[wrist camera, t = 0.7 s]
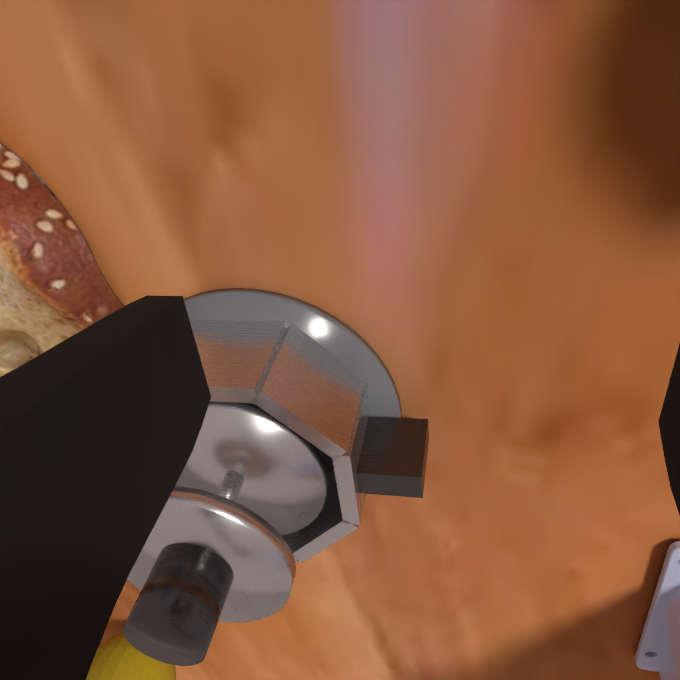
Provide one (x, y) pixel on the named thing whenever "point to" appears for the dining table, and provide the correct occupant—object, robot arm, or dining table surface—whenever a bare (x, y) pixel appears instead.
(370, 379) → the round metal disc
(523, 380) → the dining table surface
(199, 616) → the silver rounded piece
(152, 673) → the lemon
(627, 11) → the dining table surface
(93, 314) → the slice of bread
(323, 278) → the dining table surface
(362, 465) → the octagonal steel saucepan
